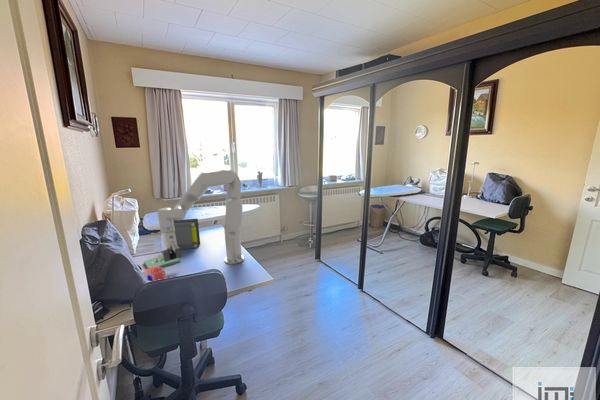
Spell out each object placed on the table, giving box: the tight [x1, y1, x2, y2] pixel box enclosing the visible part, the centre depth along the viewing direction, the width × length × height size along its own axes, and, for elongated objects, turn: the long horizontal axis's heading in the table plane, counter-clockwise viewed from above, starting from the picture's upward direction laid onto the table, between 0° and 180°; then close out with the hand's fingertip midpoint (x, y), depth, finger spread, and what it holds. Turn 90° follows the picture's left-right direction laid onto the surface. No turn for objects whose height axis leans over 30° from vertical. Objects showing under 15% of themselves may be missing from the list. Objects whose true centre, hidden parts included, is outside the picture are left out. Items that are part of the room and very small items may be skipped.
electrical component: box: [173, 218, 201, 250], centre depth 193 cm, size 18×10×20 cm, turn 101°
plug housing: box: [161, 246, 182, 262], centre depth 158 cm, size 3×9×6 cm, turn 132°
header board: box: [143, 255, 181, 269], centre depth 169 cm, size 14×18×5 cm
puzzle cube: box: [141, 265, 167, 281], centre depth 145 cm, size 8×8×8 cm
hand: (172, 257), depth 159 cm, fingers closed on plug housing, 3 cm apart
